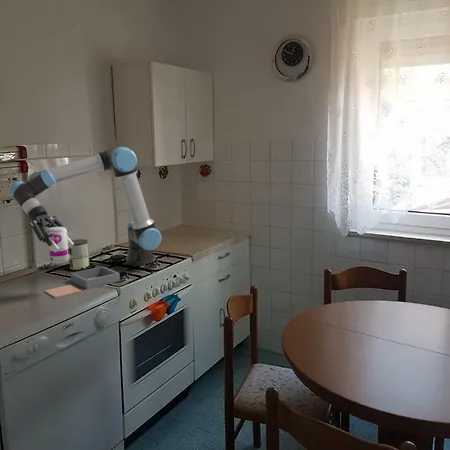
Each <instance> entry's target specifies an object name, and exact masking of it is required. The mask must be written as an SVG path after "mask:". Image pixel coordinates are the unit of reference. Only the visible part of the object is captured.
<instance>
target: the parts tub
mask: <svg viewBox="0 0 450 450" xmlns="http://www.w3.org/2000/svg"><path fill="white" fill-rule="evenodd" d="M120 274H121V273H120V272H117V271H115V270H112V269H110V268H107V267H105V266H102V265H101V266H98V267H93V268H89V269H83V270H80V271H75V272H74V271H73V272H71V273H70V280H71V282H72V283H73V284H76V285H78V286H81V287H82V288H85V289H86V290H91V289H94V288H97V287H101V286H105V285H109V284H112V283H114V284H115V283H118V282H121V277H120V276H121V275H120ZM97 276H98V277H97ZM117 281H118V282H117Z"/></svg>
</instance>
